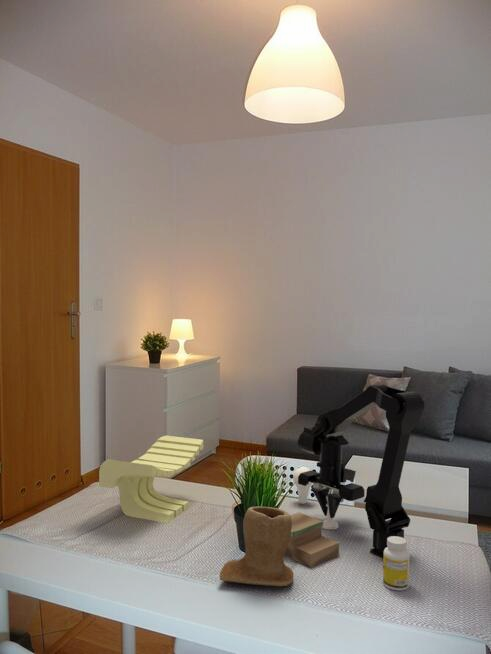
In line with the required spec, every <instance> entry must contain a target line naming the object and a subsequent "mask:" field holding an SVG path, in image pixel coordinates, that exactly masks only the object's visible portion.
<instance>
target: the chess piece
mask: <svg viewBox="0 0 491 654" xmlns="http://www.w3.org/2000/svg"><path fill="white" fill-rule="evenodd" d="M332 491H333V490H331V489H329V492H328V494H332ZM326 498H327V502H328V497H327V496H326ZM326 506H327V507H328V511H327V516H325V517H326V518H324V520H322V521H323V527H322V529H325V530H337V529H338V528H339V527H340V526H339V523H338V522H337V521H336V520H334V518H331V517H330V513H329V505H328V503H327V504H326Z"/></svg>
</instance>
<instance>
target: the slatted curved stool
mask: <svg viewBox="0 0 491 654" xmlns="http://www.w3.org/2000/svg"><path fill="white" fill-rule="evenodd" d="M202 450H204V439H201V438H200V439H198V438H193V437H192V438H191V437H190V438H189V437H182V436H176V435H175V436H172V435H163V436H161V437H159V438H158V439H156V440H155V442H154V443H153V444H151V446H150V447H149V449H147V451H146V452H145V453H144V454H143V455H142V456H139V457H138V458H137V459H134V460H133V461H131V462H130V461H122V460H117V459H107V460H104V461H103V462H102V463H101V464H100V467H99V472H98V473H99V474H98V476H99V478H98V480H99V481H98V487H102V488H108V489H114V488H116V487H117V488H118V494H119V505H120V508H121V511H122V513H123V514H124V515H126V516H127V517H132V518H136V519H137V518H138V519H142V520H144V519H145V520H148V521H154V522H155V521H156V522H160V523H167V524H168V523H170V522H171V521H172V520H174V519H175V518H176V517H178V516H179V515H181V514H182V513H183V512H185V511H186V510H187V509H189V508H191V507H190V504H189V501H185V500H180V499H176V498H172V497H167V496H165V495H162V494H160V493H159V492H157V491H156V490H155V488H154V486H153V485H154V480H155V478H166V479H168V478H171V477H172V476H175V475H176V474H178V473H180V472H181V471H183V470H184V469H187V468H188V467H190V466H191V462H193V461H196V460H195V459H196V456H199V455H200V451H202Z"/></svg>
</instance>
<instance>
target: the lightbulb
mask: <svg viewBox="0 0 491 654" xmlns="http://www.w3.org/2000/svg"><path fill="white" fill-rule="evenodd" d="M307 471H312V470H311V469H310V468H309V467H307V466H300V467H298V468H297V469H295V471H294V472H293V475H292V480H293V483H294V485H295V487H296V489H297V495H298V503H299V504H301V505H305V504H306V503H308V497H309V492H310V490H311V486H313V483H312V482H309V484H307V485H306V486H303V485H301V484H298V476H299V475H300V473H303V472H307Z"/></svg>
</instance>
